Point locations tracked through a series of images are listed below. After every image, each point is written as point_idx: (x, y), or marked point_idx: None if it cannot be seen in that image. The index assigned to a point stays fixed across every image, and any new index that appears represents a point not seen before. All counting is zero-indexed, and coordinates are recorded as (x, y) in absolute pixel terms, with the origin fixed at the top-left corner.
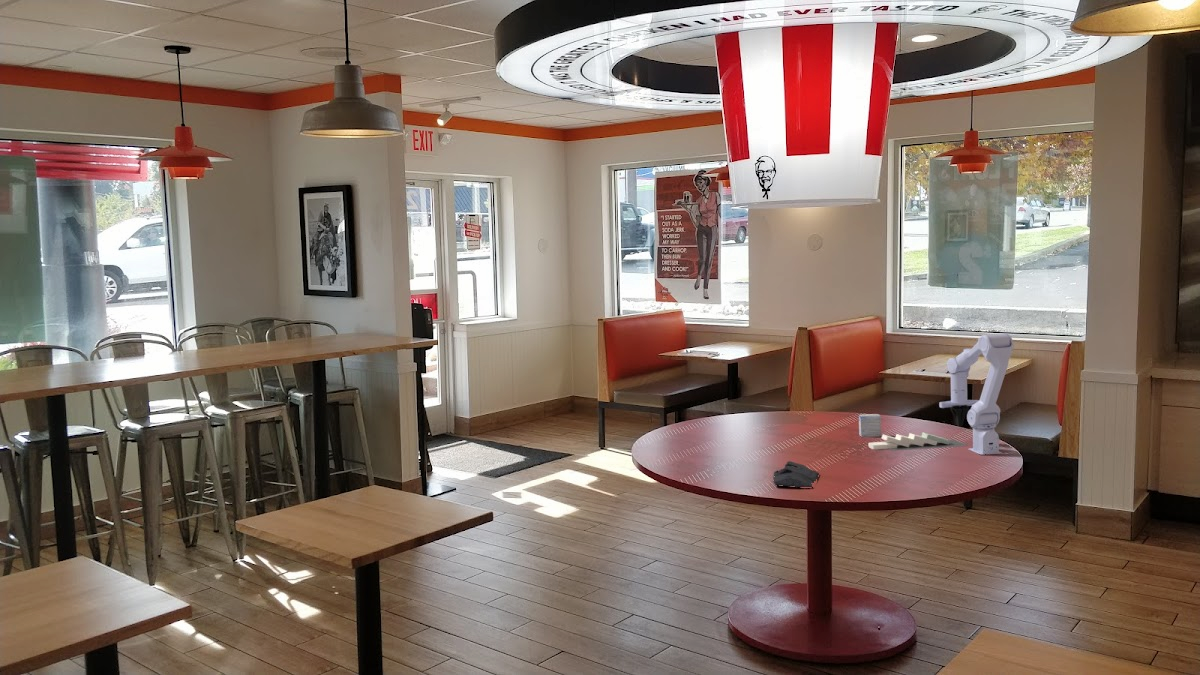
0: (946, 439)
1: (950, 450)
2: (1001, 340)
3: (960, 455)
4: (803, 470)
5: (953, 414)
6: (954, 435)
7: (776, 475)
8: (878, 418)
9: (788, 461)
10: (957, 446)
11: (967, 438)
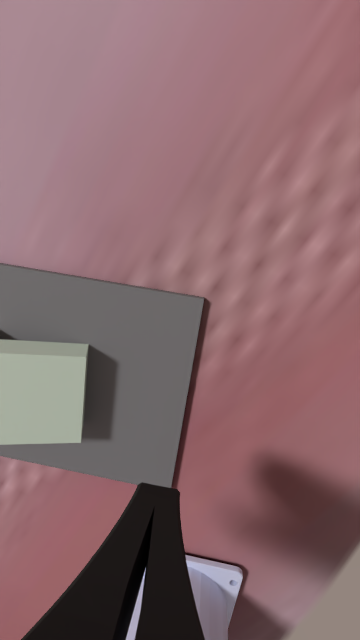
0: (56, 431)
1: (39, 504)
2: None
3: (34, 591)
4: None
5: (49, 614)
6: (353, 95)
7: None
8: None
9: None
10: (105, 477)
11: (351, 271)
